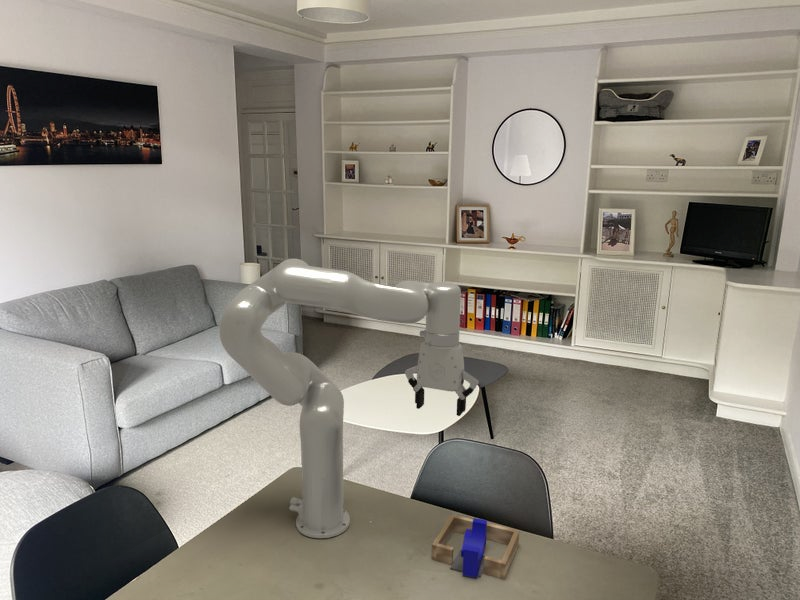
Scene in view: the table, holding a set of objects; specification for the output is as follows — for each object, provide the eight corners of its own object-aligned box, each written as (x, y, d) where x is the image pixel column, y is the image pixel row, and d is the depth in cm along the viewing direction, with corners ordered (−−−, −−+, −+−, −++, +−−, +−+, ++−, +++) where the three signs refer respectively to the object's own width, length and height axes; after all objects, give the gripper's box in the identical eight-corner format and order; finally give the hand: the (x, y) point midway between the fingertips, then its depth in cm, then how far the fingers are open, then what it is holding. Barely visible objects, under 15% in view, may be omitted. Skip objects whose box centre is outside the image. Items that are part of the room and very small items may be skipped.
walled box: (429, 563, 132) (429, 548, 131) (450, 527, 145) (451, 514, 144) (502, 583, 126) (503, 568, 125) (518, 544, 139) (519, 530, 138)
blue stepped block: (466, 540, 140) (467, 516, 138) (485, 544, 138) (487, 520, 137) (455, 573, 128) (456, 548, 127) (476, 578, 127) (478, 552, 126)
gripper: (399, 337, 137) (398, 409, 141) (474, 347, 131) (471, 423, 135) (412, 329, 144) (411, 398, 148) (484, 338, 138) (481, 410, 141)
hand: (439, 410), depth 141 cm, fingers open, 9 cm apart
